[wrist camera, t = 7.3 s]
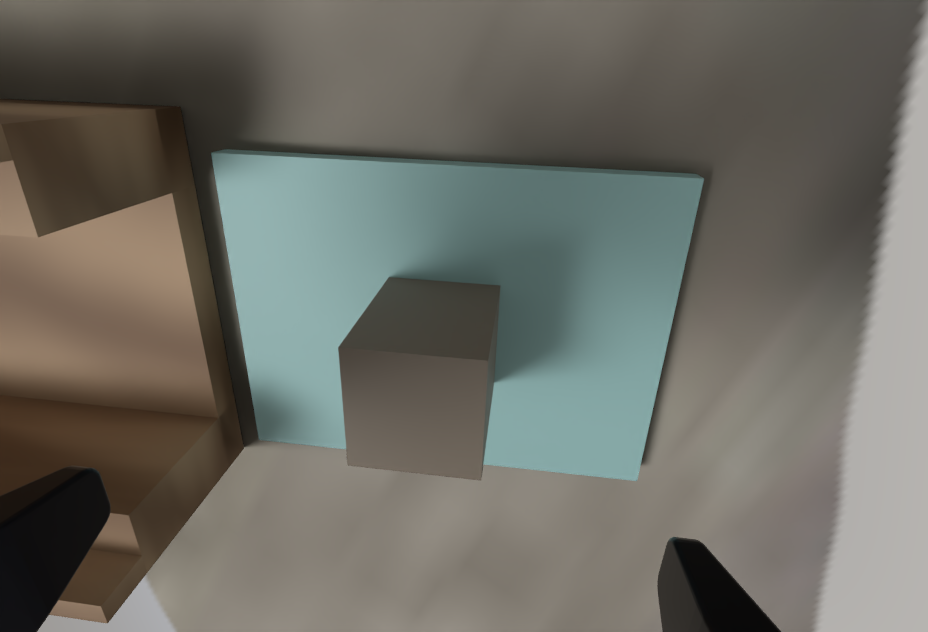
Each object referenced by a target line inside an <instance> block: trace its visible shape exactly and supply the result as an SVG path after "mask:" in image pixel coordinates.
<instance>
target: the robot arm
mask: <svg viewBox="0 0 928 632" xmlns="http://www.w3.org/2000/svg"><path fill="white" fill-rule="evenodd" d="M110 512H111V504H110V501H109V498H108V495H107V492H106V489H105V486H104V483H103V480H102V478H101V475H100V473H99V471H97V470H96V469H95V468H91V467H83V466H67V467H64V468H62V469H59V470H57V471H55V472H53V473H50V474H48V475H46V476H44V477H41V478H39V479H37V480H35V481H32V482H30V483H28V484H26V485H23V486H21V487H19V488H17V489H14V490H12V491H10V492H8V493H5V494H3V495H1V496H0V632H37V631H38V629H39V628H40V627H41V625H42V624H43V622H44V621H45V620H46V618H47V617H48V615H49V614H50V612H51V611H52V609H53V608H54V606H55V605H56V603H57V602H58V600H59V599H60V597H61V595H62V594H63V592H64V590H65V589H66V587H67V586H68V584H69V582H70V581H71V579H72V578H73V576H74V574H75V573H76V571H77V569H78V568H79V566H80V565H81V563H82V561H83V560H84V558H85V556H86V555H87V553H88V552H89V550H90V548H91V547H92V545H93V544H94V542H95V540H96V539H97V537H98V535H99V534H100V532H101V531H102V529H103V527H104V526H105V524H106V522H107V521H108V518H109V516H110ZM658 597H659V606H660V614H661V622H662V630H663V632H781V631H780V630H779V629H778V627H777V626H776V625H775V624H774V623H773V622H772V621H771V620H770V618H769V617H768V616H767V615H766V614H765V613H764V612H763V611H762V609H761V608H760V607H759V606H758V605H757V604H756V603H755V602H754V600H753V599H752V598H751V597H750V596H749V595H748V594H747V593H746V591H745V590H744V589H743V588H742V587H741V586H740V585H739V584H738V582H737V581H736V580H735V579H734V578H733V577H732V576H731V575H730V573H729V572H728V571H727V570H726V569H725V568H724V567H723V565H722V564H721V563H720V562H719V561H718V560H717V559H716V558H715V556H714V555H713V554H712V553H711V552H710V551H709V550H708V549H707V547H706V546H705V545H704V544H703V543H701V542H700V541H698V540H695V539H687V538H678V537H672V538H670V539H669V541H668V542H667V545H666V549H665V553H664V556H663V560H662V564H661V567H660V571H659V575H658Z"/></svg>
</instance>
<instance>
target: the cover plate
mask: <svg viewBox="0 0 928 632" xmlns="http://www.w3.org/2000/svg"><path fill="white" fill-rule="evenodd" d="M211 156H212V162H213V168H214V174H215V180H216V186H217V192H218V198H219V204H220V210H221V216H222V222H223V228H224V234H225V240H226V246H227V252H228V258H229V264H230V270H231V276H232V282H233V288H234V294H235V300H236V306H237V312H238V318H239V324H240V330H241V336H242V341H243V347H244V353H245V359H246V365H247V371H248V377H249V383H250V389H251V395H252V401H253V407H254V413H255V419H256V425H257V431H258V437H259V440H265V441H274V442H284V443H293V444H302V445H311V446H320V447H329V448H339V449H346V452H347V464H348V466H357V467H366V468H375V469H384V470H393V471H402V472H411V473H420V474H428V475H437V476H446V477H455V478H464V479H473V480H481V477H482V470H483V464H486V465H495V466H504V467H513V468H522V469H532V470H541V471H550V472H559V473H568V474H578V475H587V476H596V477H605V478H614V479H623V480H633V481H637V479H638V474H639V470H640V465H641V461H642V456H643V452H644V447H645V443H646V438H647V434H648V429H649V425H650V420H651V416H652V411H653V407H654V402H655V398H656V393H657V389H658V384H659V380H660V375H661V371H662V366H663V362H664V357H665V353H666V348H667V344H668V339H669V335H670V330H671V326H672V321H673V317H674V312H675V308H676V303H677V299H678V294H679V290H680V285H681V281H682V276H683V272H684V267H685V263H686V258H687V254H688V249H689V245H690V240H691V236H692V231H693V227H694V222H695V218H696V213H697V209H698V204H699V200H700V195H701V191H702V186H703V182H704V178H702V177H701V176H699V175H697V174H691V173H671V172H652V171H633V170H614V169H595V168H575V167H556V166H537V165H518V164H499V163H479V162H460V161H441V160H422V159H403V158H383V157H364V156H345V155H326V154H307V153H287V152H268V151H249V150H230V149H224V150H220V151H216V152H212V153H211Z"/></svg>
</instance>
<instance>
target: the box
mask: <svg viewBox="0 0 928 632" xmlns="http://www.w3.org/2000/svg"><path fill="white" fill-rule="evenodd" d="M243 449H244V446H243V441H242V436H241V430H240V425H239V420H238V414H237V409H236V403H235V398H234V393H233V387H232V382H231V377H230V371H229V366H228V360H227V355H226V350H225V344H224V339H223V334H222V328H221V323H220V317H219V312H218V307H217V301H216V296H215V291H214V285H213V280H212V274H211V269H210V264H209V258H208V253H207V248H206V242H205V237H204V231H203V226H202V221H201V215H200V210H199V205H198V199H197V194H196V188H195V183H194V178H193V172H192V167H191V162H190V156H189V151H188V145H187V140H186V135H185V129H184V124H183V119H182V113H181V108H180V107H176V106H153V105H130V104H107V103H83V102H60V101H37V100H14V99H0V496H1V495H3V494H5V493H8V492H10V491H12V490H14V489H17V488H19V487H21V486H23V485H26V484H28V483H30V482H32V481H35V480H37V479H39V478H41V477H44V476H46V475H48V474H50V473H53V472H55V471H57V470H59V469H62V468H64V467H67V466H83V467H91V468H95V469H96V470H97V471H99V473H100V475H101V478H102V480H103V483H104V486H105V489H106V492H107V495H108V498H109V501H110V504H111V512H110V516H109V518H108V521H107V522H106V524H105V526H104V527H103V529H102V531H101V532H100V534H99V535H98V537H97V539H96V540H95V542H94V544H93V545H92V547H91V548H90V550H89V552H88V553H87V555H86V556H85V558H84V560H83V561H82V563H81V565H80V566H79V568H78V569H77V571H76V573H75V574H74V576H73V578H72V579H71V581H70V582H69V584H68V586H67V587H66V589H65V590H64V592H63V594H62V595H61V597H60V599H59V600H58V602H57V603H56V605H55V606H54V608H53V609H52V611H51V612H50V614H49V615H56V616H62V617H68V618H75V619H82V620H88V621H95V622H102V623H108V622H109V621H110V620H111V618H112V617H113V616H114V614H115V613H116V612H117V611H118V609H119V608H120V607H121V606H122V604H123V603H124V602H125V600H126V599H127V598H128V596H129V595H130V594H131V593H132V591H133V590H134V589H135V588H136V586H137V585H138V583H139V582H140V581H141V580H142V579H143V577H144V576H145V575H146V573H147V572H148V571H149V570H150V568H151V567H152V566H153V564H154V563H155V562H156V561H157V559H158V558H159V557H160V555H161V554H162V553H163V552H164V550H165V549H166V548H167V546H168V545H169V544H170V543H171V541H172V540H173V539H174V537H175V536H176V535H177V534H178V532H179V531H180V530H181V528H182V527H183V526H184V525H185V523H186V522H187V521H188V519H189V518H190V517H191V516H192V514H193V513H194V512H195V510H196V509H197V508H198V507H199V505H200V504H201V503H202V501H203V500H204V499H205V498H206V496H207V495H208V494H209V492H210V491H211V490H212V489H213V487H214V486H215V485H216V483H217V482H218V481H219V480H220V478H221V477H222V476H223V474H224V473H225V472H226V471H227V469H228V468H229V467H230V465H231V464H232V463H233V462H234V460H235V459H236V458H237V456H238V455H239V454H240V453H241V451H242V450H243Z"/></svg>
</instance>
